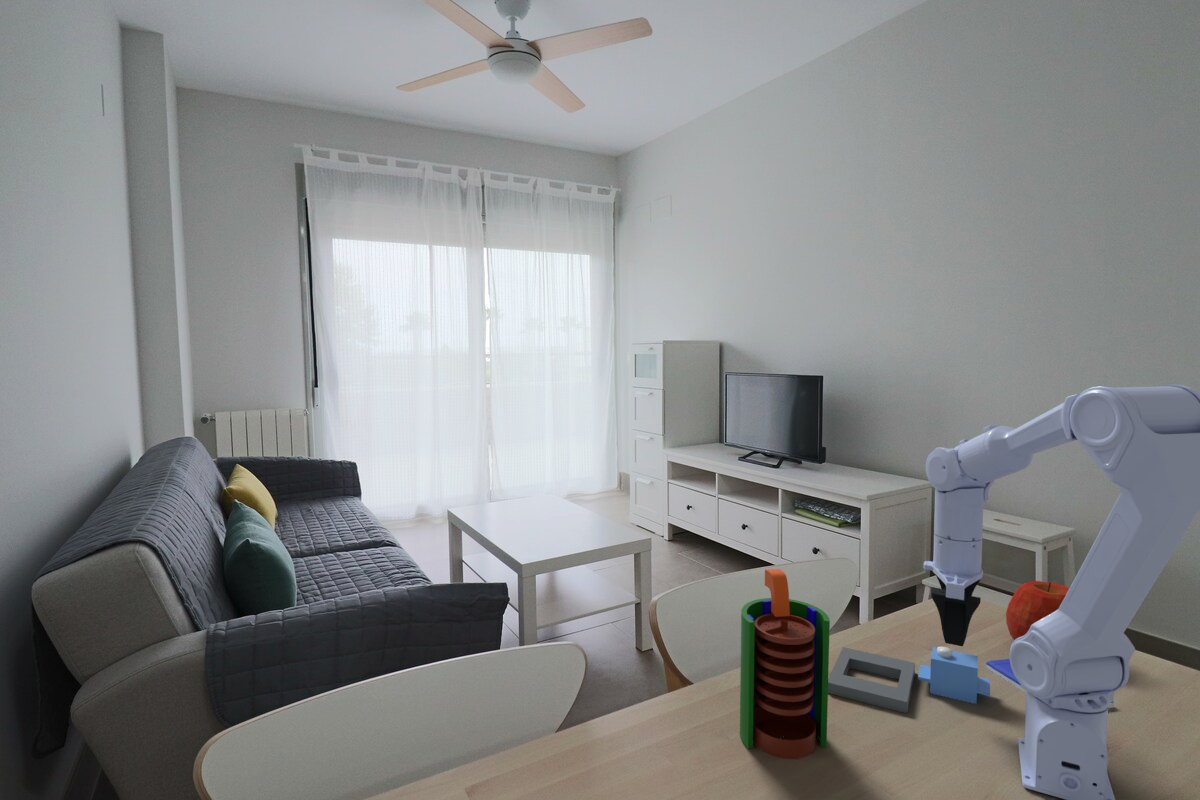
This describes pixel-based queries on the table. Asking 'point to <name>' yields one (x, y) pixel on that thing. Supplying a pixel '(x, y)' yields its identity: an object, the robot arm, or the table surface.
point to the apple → (1032, 605)
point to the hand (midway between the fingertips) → (954, 632)
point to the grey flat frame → (867, 689)
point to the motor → (783, 672)
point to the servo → (954, 675)
